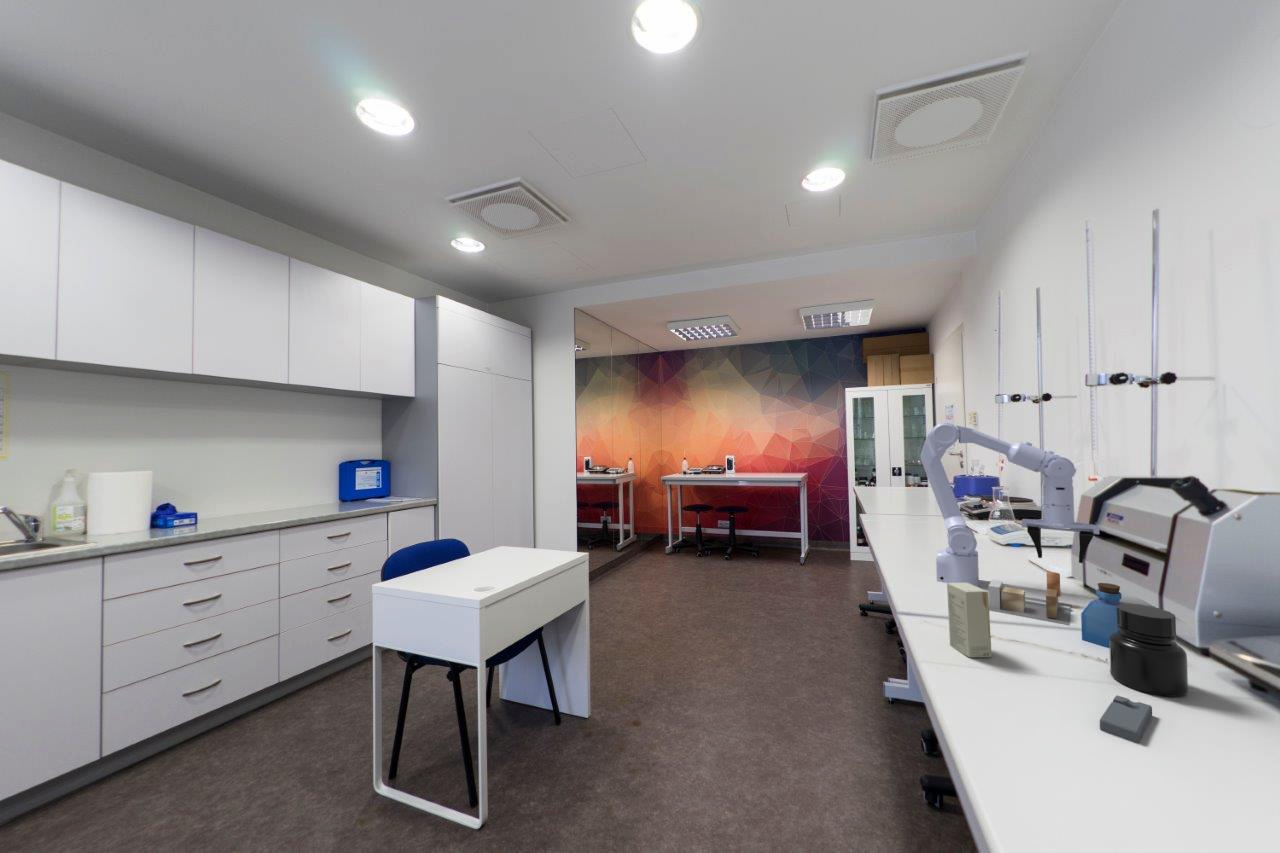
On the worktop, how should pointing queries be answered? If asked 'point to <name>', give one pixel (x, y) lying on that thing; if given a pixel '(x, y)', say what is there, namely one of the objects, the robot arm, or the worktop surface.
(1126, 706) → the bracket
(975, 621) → the skincare box
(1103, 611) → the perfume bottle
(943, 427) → the robot arm
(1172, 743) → the worktop surface
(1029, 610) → the press base
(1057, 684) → the worktop surface
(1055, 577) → the press jaw
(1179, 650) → the ink bottle
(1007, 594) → the birch cube
